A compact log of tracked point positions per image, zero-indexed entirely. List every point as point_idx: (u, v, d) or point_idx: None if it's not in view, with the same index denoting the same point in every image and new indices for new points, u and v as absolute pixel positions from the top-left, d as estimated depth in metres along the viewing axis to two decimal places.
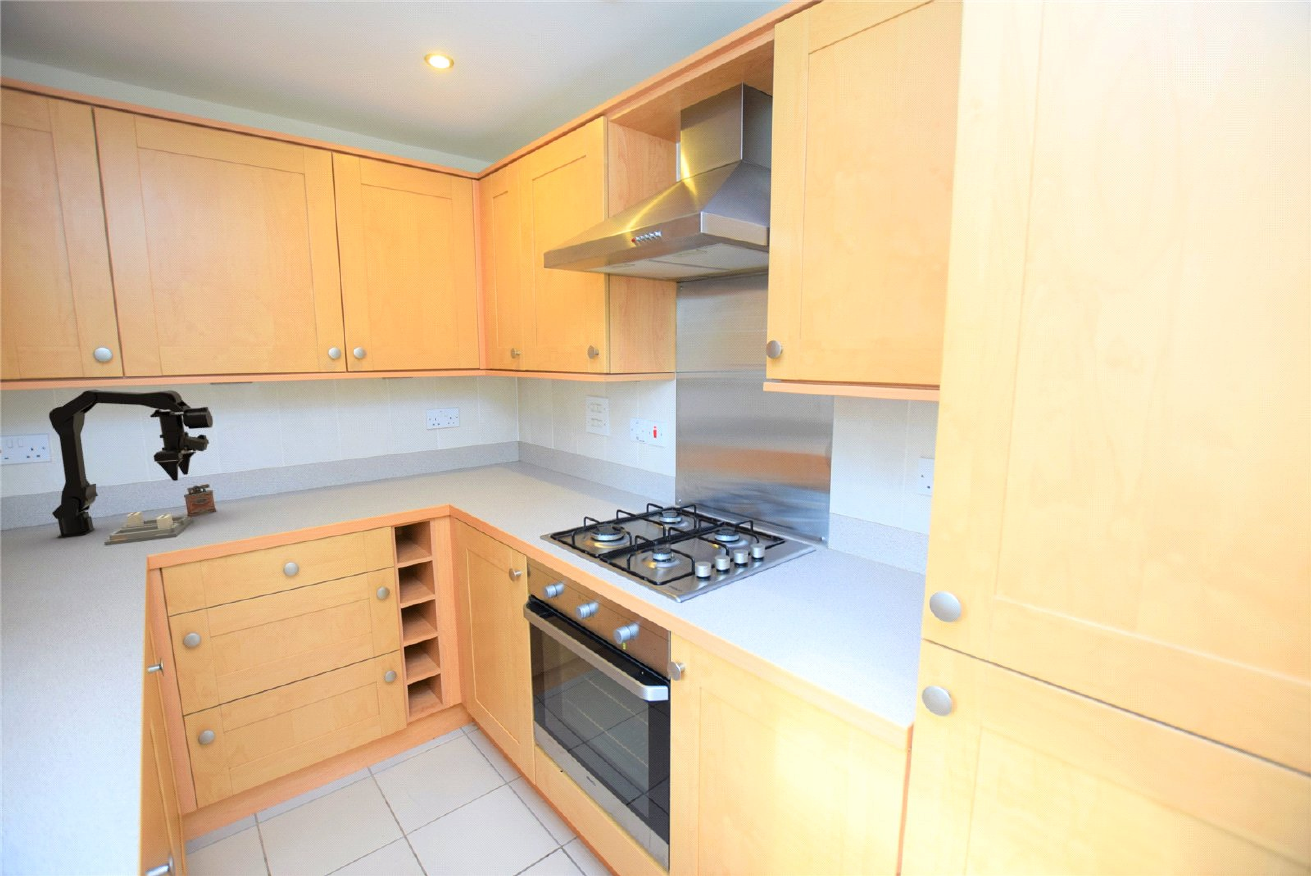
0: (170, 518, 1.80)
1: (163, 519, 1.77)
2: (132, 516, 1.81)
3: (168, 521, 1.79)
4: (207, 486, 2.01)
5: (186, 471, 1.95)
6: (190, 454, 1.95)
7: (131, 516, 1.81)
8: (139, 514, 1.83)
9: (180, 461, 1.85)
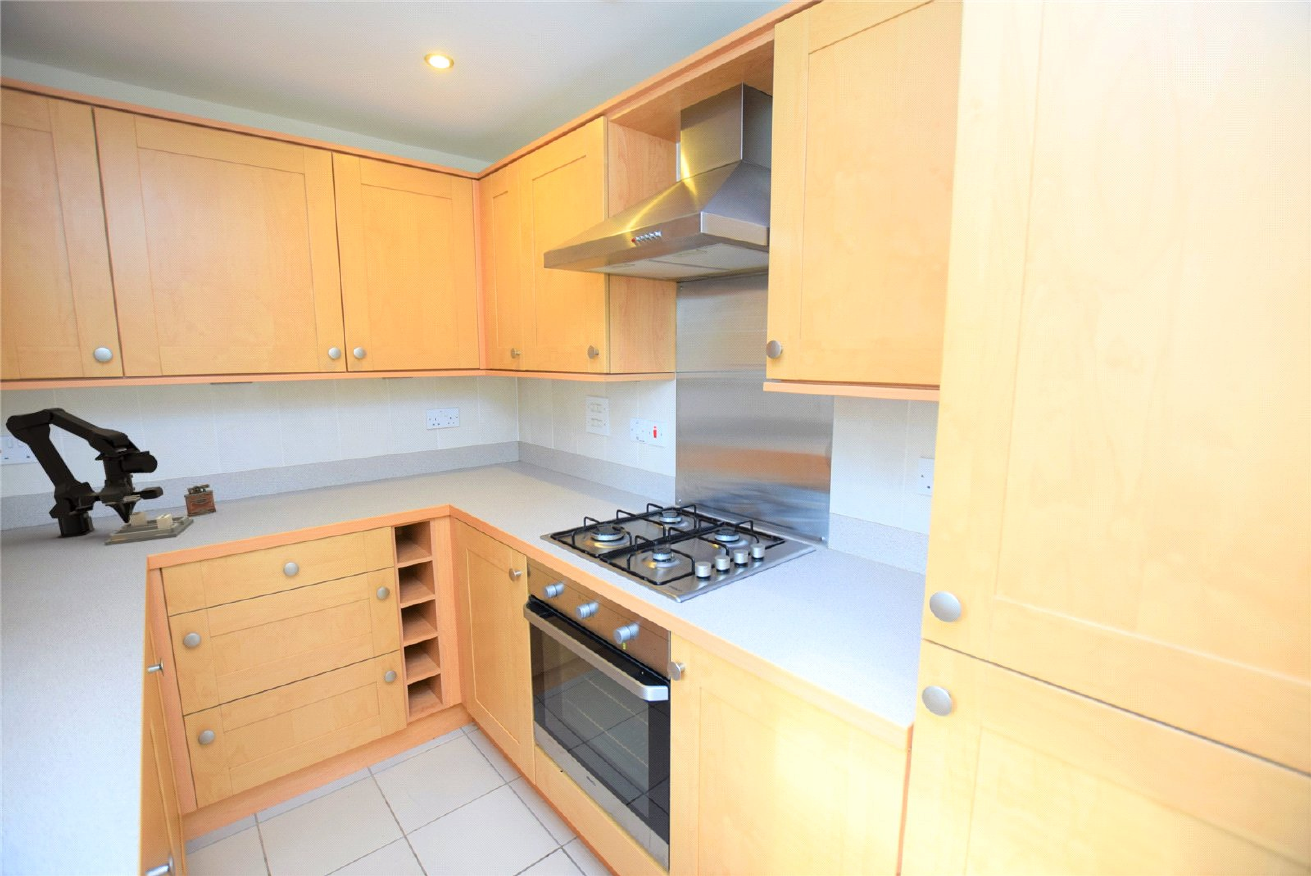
0: (170, 518, 1.80)
1: (163, 519, 1.77)
2: (136, 516, 1.81)
3: (168, 521, 1.79)
4: (207, 486, 2.01)
5: None
6: None
7: (135, 516, 1.81)
8: (143, 514, 1.84)
9: (114, 506, 1.78)
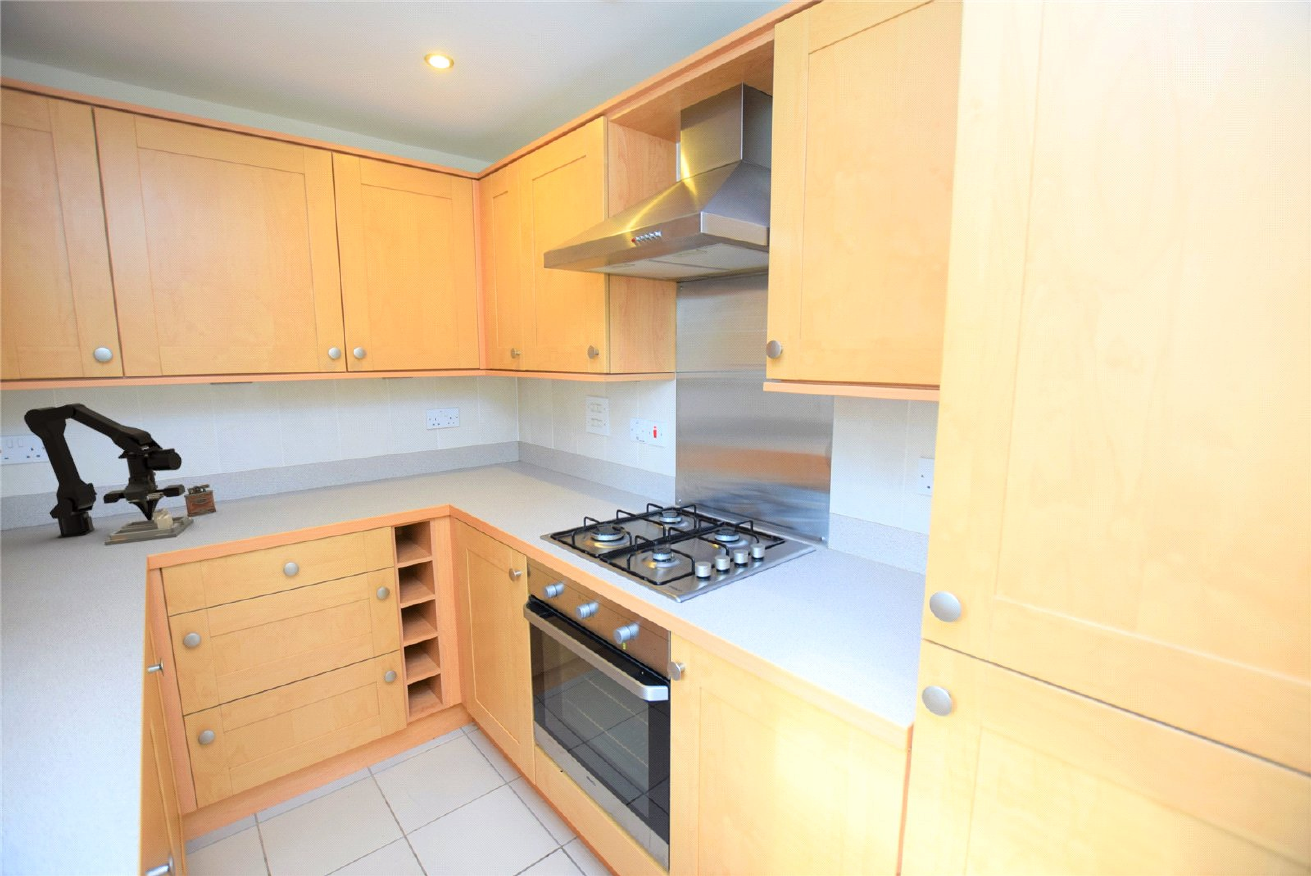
0: (170, 518, 1.80)
1: (163, 519, 1.77)
2: (159, 513, 1.83)
3: (168, 521, 1.79)
4: (207, 486, 2.01)
5: None
6: None
7: (158, 513, 1.83)
8: (165, 511, 1.86)
9: (137, 503, 1.81)
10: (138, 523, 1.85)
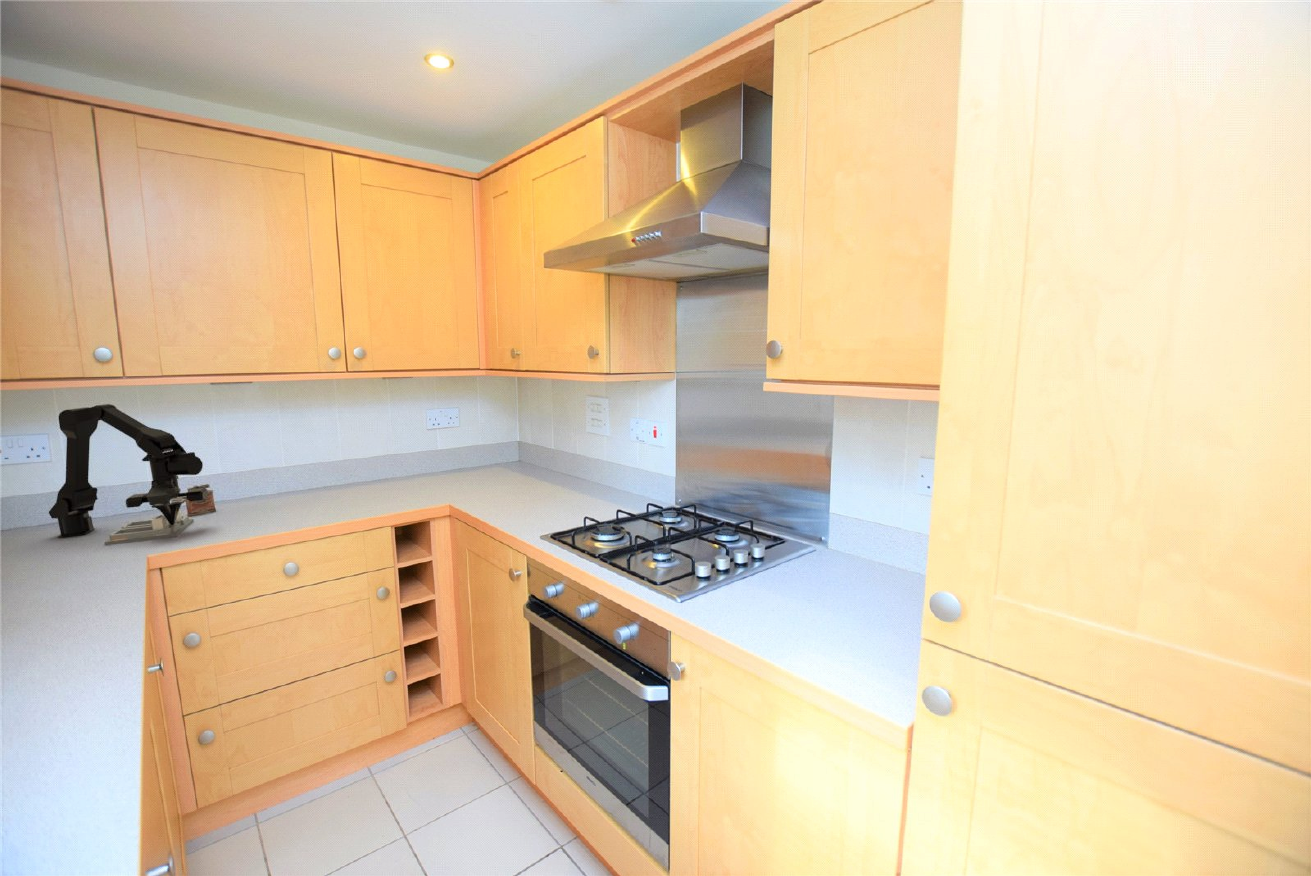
0: (165, 519, 1.80)
1: (159, 520, 1.77)
2: None
3: (163, 522, 1.78)
4: (207, 486, 2.01)
5: None
6: None
7: None
8: None
9: (160, 507, 1.76)
10: (138, 523, 1.85)
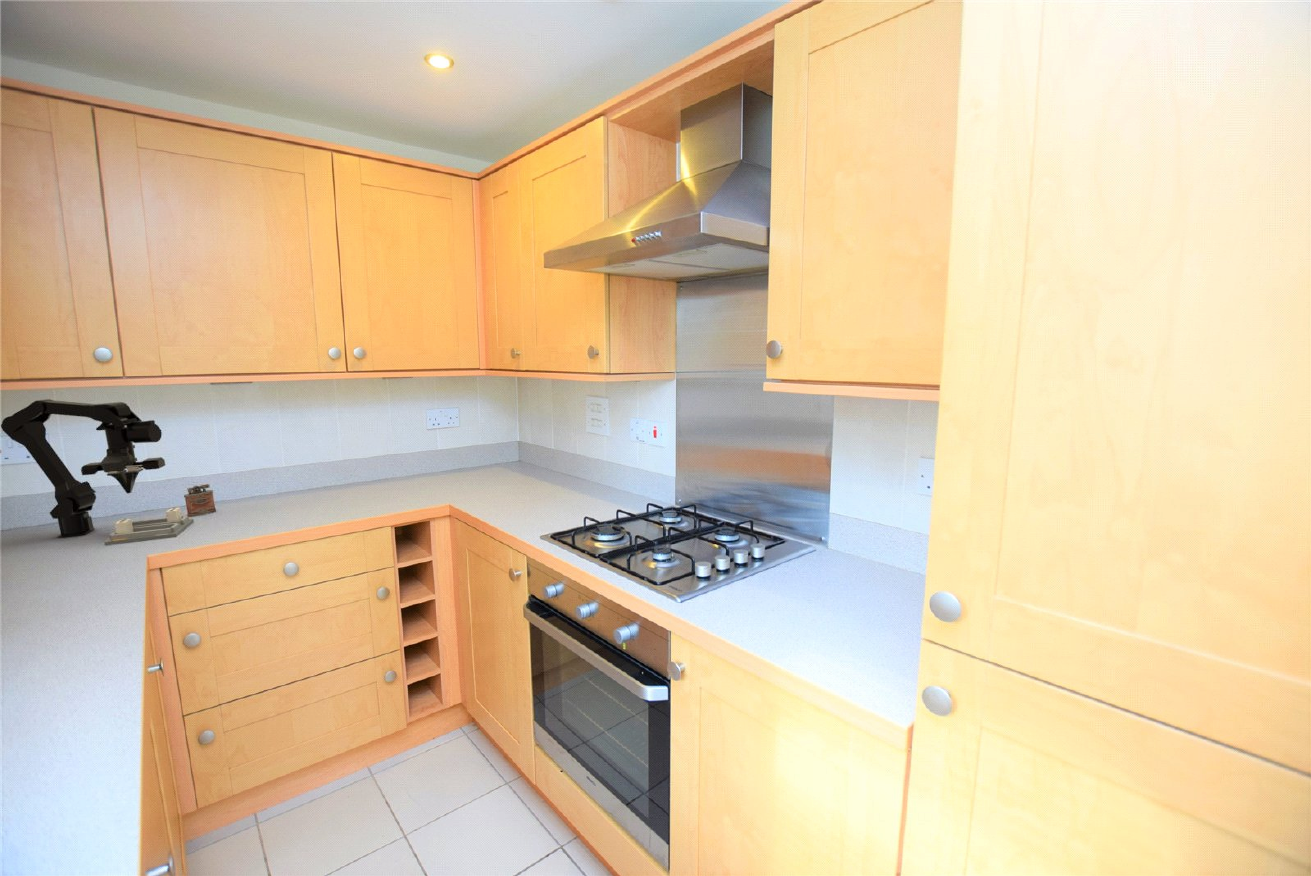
0: (130, 522, 1.77)
1: (122, 524, 1.74)
2: (171, 512, 1.85)
3: (127, 526, 1.75)
4: (207, 486, 2.01)
5: None
6: None
7: (171, 512, 1.84)
8: (178, 510, 1.87)
9: (116, 475, 1.79)
10: (138, 523, 1.85)
